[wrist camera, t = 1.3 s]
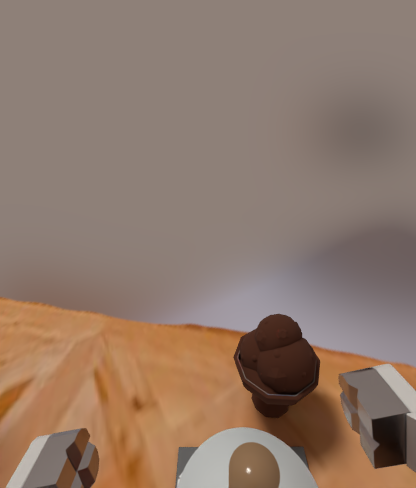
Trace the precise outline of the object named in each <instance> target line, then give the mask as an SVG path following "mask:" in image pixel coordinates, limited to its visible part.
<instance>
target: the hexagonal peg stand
mask: <svg viewBox="0 0 416 488" xmlns="http://www.w3.org/2000/svg"><path fill="white" fill-rule="evenodd" d="M177 488H318V486H317V484H316V482H315V480H314V478H313V476H312V474H311V473H310V471H309V470H308V468H307V467H306V465H305V464H304V462H303V461H302V460H301V459H300V457H299V456H298V455H297V454H296V453H295V452H294V451H293V450H292V449H291V448H290V447H289V446H288V445H286V444H285V443H284V442H283V441H281V440H280V439H278V438H277V437H275V436H273V435H271V434H269V433H267V432H264V431H261V430H258V429H253V428H244V427H241V428H232V429H227V430H224V431H222V432H219V433H217V434H215V435H213V436H212V437H210V438H209V439H208V440H206V441H205V442H204V443H203V444H202V445H201V446H200V447H199V448H198V449H197V450H196V451H195V452H194V454H193V455H192V456H191V458H190V459H189V461H188V463H187V464H186V466H185V468H184V471H183V472H182V473H181V475H180V476H179V479H178V483H177Z"/></svg>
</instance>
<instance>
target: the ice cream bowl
mask: <svg viewBox="0 0 416 488" xmlns="http://www.w3.org/2000/svg"><path fill="white" fill-rule="evenodd" d="M234 360H235V364H236V366H237V369H238V372H239V374H240V377H241V380H242V382H243V385H244V387H245V388H246V389H247V390H248V391H250V392H251V393H253V394H252V400H253V403H254V405H255V408H256V409H257V410H258V411H259V412H261V413H262V414H263V415H264V416H266V417H276V418H279V417H280V416H282V415H283V414H284V413H286V412H287V411H288V406H289V405H294V404H296V403H297V402H299V401H300V400H301V399H302V398H304V397H305V396H306V395H308V394H309V393H310V392H312V391H313V390H314V389H315V388H316V386H317V385H318V380H319V368H320V360H319V358H318V357H317V355H316V354H315V352H314V350H313V348H312V347H311V346H310V345H309V343H308V342H307V340H306V339H304V338H302V332H301V329H300V327H299V326H298V323H297V322H294V320H292V318H291V317H288V316H286V315H281V314H274V315H270V316H268V317H266V318H264V319H263V320H262V321H261V322H260V323H259V325H258V327H257V329H255V330H253V331H251V332H249V333H248V334H246V335H244V336H242V337H241V339H240V341H239V344H238V347H237V349H236V352H235V355H234Z"/></svg>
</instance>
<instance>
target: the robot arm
mask: <svg viewBox="0 0 416 488" xmlns="http://www.w3.org/2000/svg"><path fill="white" fill-rule="evenodd" d="M338 379H339V385H340V387H341V388H342V390H343V392H342V393H341V395H340V398H341V404H342V408H343V411H344V414H345V416H346V418H347V421H348V423H349V424H350V426H351V428H352V430H354V431H355V432H357V433H358V434H360V441H361V446H362V448H363V449H364V451H365V453H366V455H367V456H368V458H369V460H370V462H371V463H372V465H373V467H374V469H377V468H383V467H389V466H395V465H402V464H407V466H408V467H409V468H410V469H412V470H413V471H414V472H416V391H415V390H414V389H413V388H412V387H411V385H410V384H409V383H408V382H407V381H406V380H405V379H404V378H403V377H402V376H401V375H400V374H399V373H398V372H397V370H396V369H395V368H394V367H393V366H392V365H390V364H384V365H379V366H375V367H371V368H365V369H361V370H356V371H352V372H347V373H343V374H339V377H338ZM89 438H90V434H89V433H88V431H87V429H86V428H82V429H76V430H71V431H65V432H59V433H54V434H50V435H44V436H39V437H37V438H36V439H35V440H34V441H33V442H32V443H31V445H30V447H29V448H28V450H27V452H26V454H25V455H24V457H23V459H22V460H21V462H20V464H19V466H18V467H17V469H16V471H15V473H14V474H13V476H12V478H11V480H10V481H9V483H8V485H7V486H6V488H90V487H91V486H92V485H93V484H94V482H95V481H96V477H97V474H98V469H99V455H98V451H97V449H96V446H95V445H93V444H91V443H90V442H88V441H89Z"/></svg>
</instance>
